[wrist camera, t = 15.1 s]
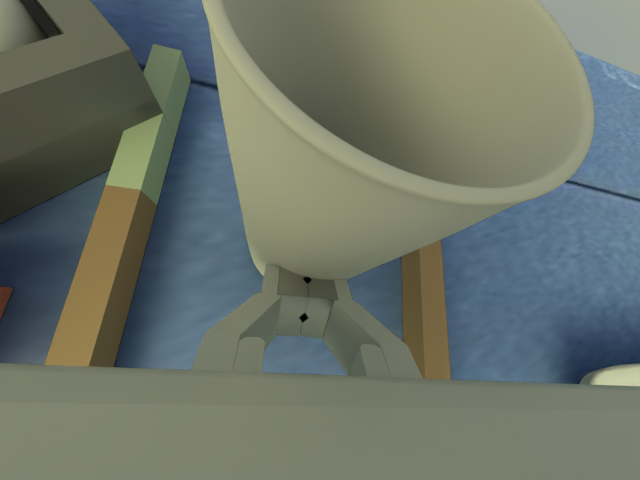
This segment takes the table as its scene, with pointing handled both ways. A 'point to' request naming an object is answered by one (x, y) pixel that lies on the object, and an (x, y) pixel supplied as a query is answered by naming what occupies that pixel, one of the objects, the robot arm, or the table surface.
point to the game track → (134, 228)
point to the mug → (390, 121)
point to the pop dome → (18, 26)
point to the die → (4, 298)
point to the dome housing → (65, 104)
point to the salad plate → (614, 376)
